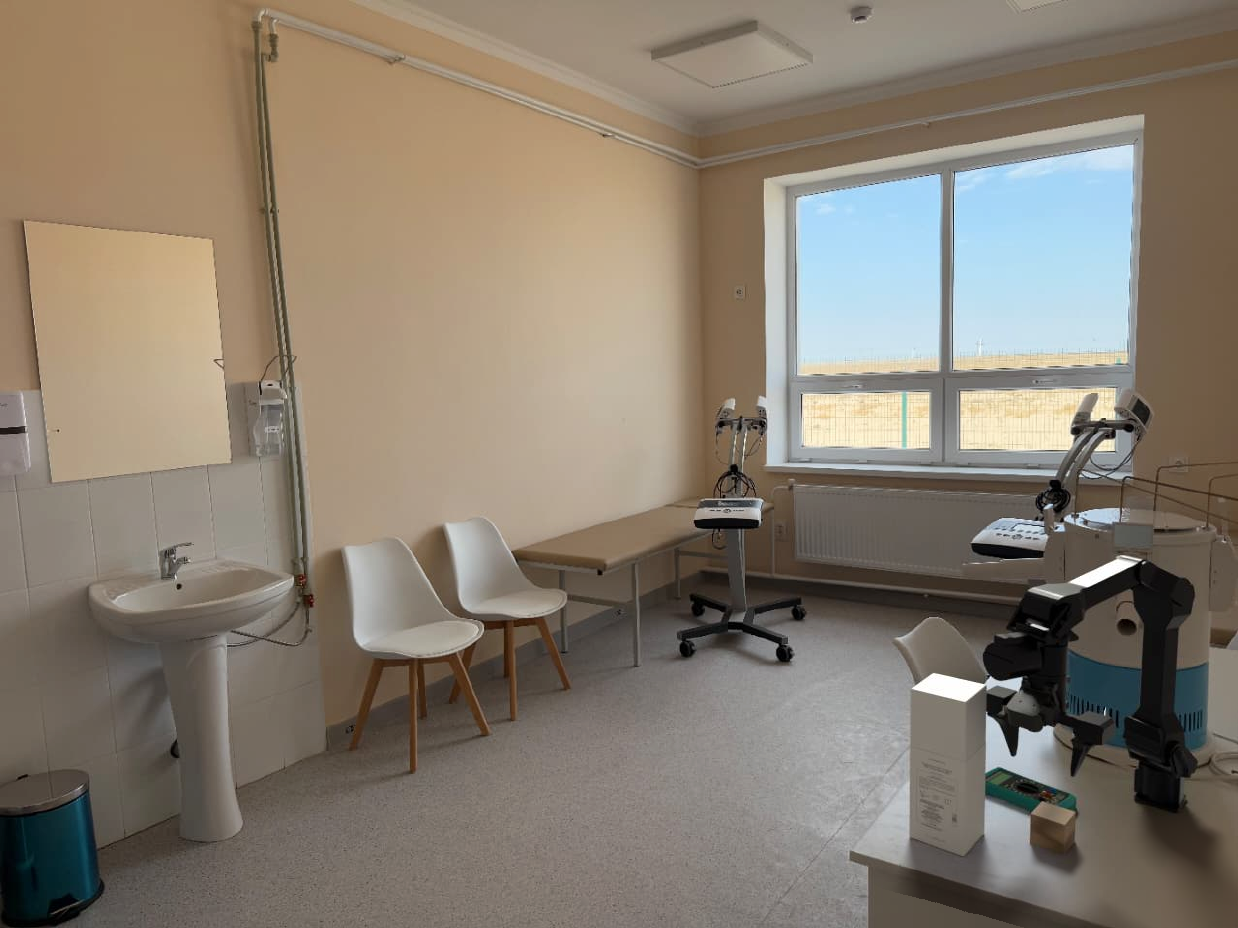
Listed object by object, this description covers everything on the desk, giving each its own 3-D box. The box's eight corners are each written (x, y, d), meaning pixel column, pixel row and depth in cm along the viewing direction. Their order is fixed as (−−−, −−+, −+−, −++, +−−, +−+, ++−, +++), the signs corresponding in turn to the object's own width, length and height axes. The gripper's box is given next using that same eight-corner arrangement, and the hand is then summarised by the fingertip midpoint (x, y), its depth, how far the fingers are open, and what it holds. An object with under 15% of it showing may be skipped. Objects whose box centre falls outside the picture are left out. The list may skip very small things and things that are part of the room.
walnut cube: (1074, 841, 136) (1075, 811, 135) (1063, 855, 132) (1064, 824, 132) (1041, 830, 139) (1042, 801, 139) (1029, 843, 136) (1030, 813, 135)
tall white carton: (984, 833, 139) (987, 684, 136) (963, 857, 132) (966, 702, 129) (931, 814, 145) (932, 672, 142) (908, 837, 138) (909, 688, 135)
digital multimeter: (1059, 826, 141) (1059, 809, 140) (974, 791, 152) (974, 776, 152) (1080, 811, 145) (1081, 794, 145) (996, 778, 157) (996, 763, 156)
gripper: (963, 667, 135) (960, 761, 137) (1088, 701, 121) (1083, 805, 123) (997, 650, 142) (994, 740, 144) (1119, 681, 128) (1114, 780, 130)
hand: (1042, 765), depth 135 cm, fingers open, 9 cm apart
